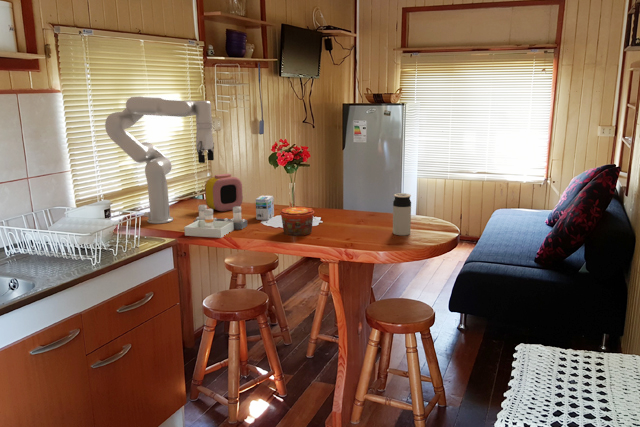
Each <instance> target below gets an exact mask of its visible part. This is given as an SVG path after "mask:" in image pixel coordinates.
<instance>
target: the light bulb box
mask: <svg viewBox="0 0 640 427" xmlns="http://www.w3.org/2000/svg"><path fill="white" fill-rule="evenodd" d="M274 202H275V201H274V196H273V195H259V196H258V197H257V198H255V214H256V215H255V217H256V220H259V221H260V220H261V221H262V220H264V221H269V220H270V219H272V218H273V217H274V216H275V209H274V208H275V206H274V204H275V203H274Z"/></svg>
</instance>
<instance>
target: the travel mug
mask: <svg viewBox="0 0 640 427" xmlns="http://www.w3.org/2000/svg"><path fill="white" fill-rule="evenodd" d="M393 196H394V199H393V201H392V202H393V203H392V206H393V207H392V208H393V209H392V233H393V234H394V235H396V236H408V235H410V234H411V228H412V227H411V220H412V219H411V218H412V201H411V196H412V195H411V194H410V193H401V192H400V193H395V194H393Z"/></svg>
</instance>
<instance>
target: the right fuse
mask: <svg viewBox="0 0 640 427" xmlns="http://www.w3.org/2000/svg"><path fill="white" fill-rule="evenodd" d="M232 213H233V214H232V215H233V216H232V217H233V219H234V223H241V220H242V219H243V218H242V206H235V207H233V210H232Z"/></svg>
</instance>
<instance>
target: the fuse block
mask: <svg viewBox="0 0 640 427" xmlns="http://www.w3.org/2000/svg"><path fill="white" fill-rule="evenodd" d="M241 219H242V220H241V223H234V219H233V218H228V217H226V218H217V217H213V221H228V222H233V225H234V230H240V229H242V230H244V229H245V228H246V227H248V219H245V218H241ZM197 220H199V216H197V217H195V219H194V220H193V222H195V221H197ZM243 228H244V229H243Z"/></svg>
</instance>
